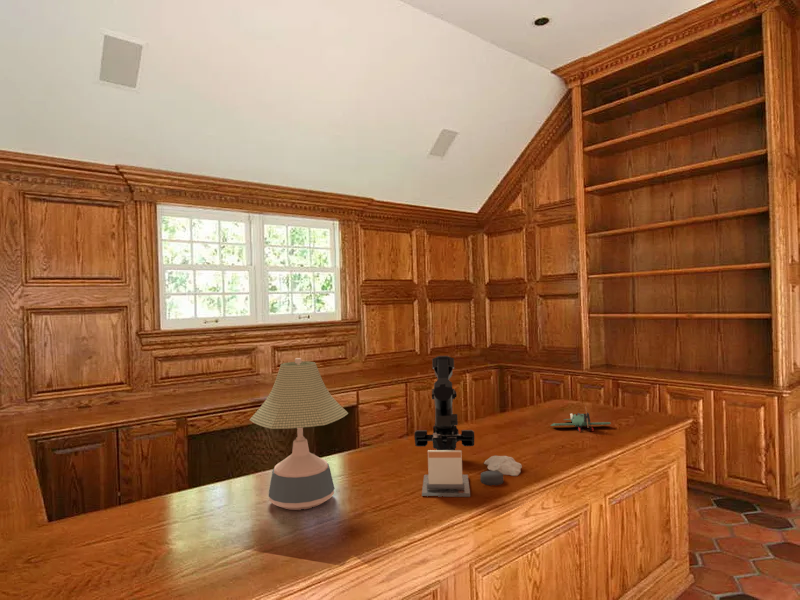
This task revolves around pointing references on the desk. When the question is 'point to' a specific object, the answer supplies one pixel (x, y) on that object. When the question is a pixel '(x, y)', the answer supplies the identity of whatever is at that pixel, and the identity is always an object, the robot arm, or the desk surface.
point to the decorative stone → (503, 465)
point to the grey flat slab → (446, 492)
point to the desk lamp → (299, 434)
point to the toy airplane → (580, 421)
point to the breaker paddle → (445, 469)
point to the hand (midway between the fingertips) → (444, 463)
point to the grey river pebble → (491, 478)
